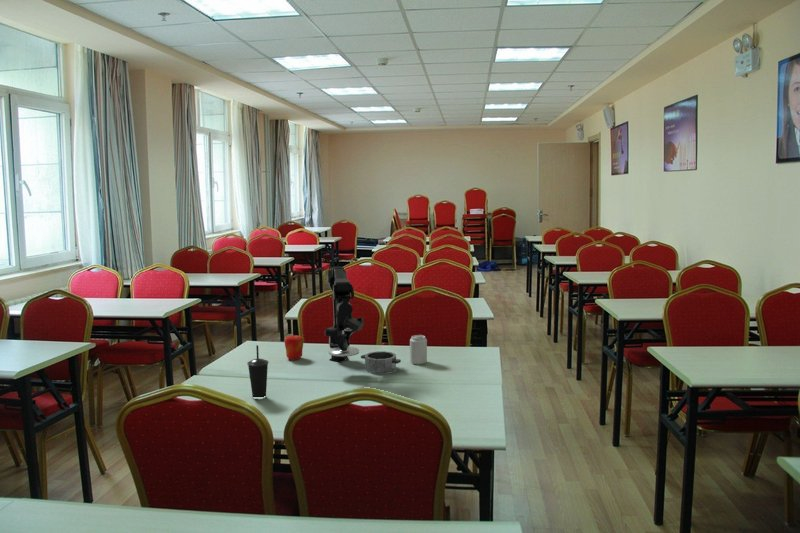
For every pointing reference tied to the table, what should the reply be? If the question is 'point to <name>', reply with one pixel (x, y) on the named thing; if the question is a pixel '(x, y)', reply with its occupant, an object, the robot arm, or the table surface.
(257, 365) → the drinking cup
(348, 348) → the lid
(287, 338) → the red bell pepper
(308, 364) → the table surface
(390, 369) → the pot
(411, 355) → the can
